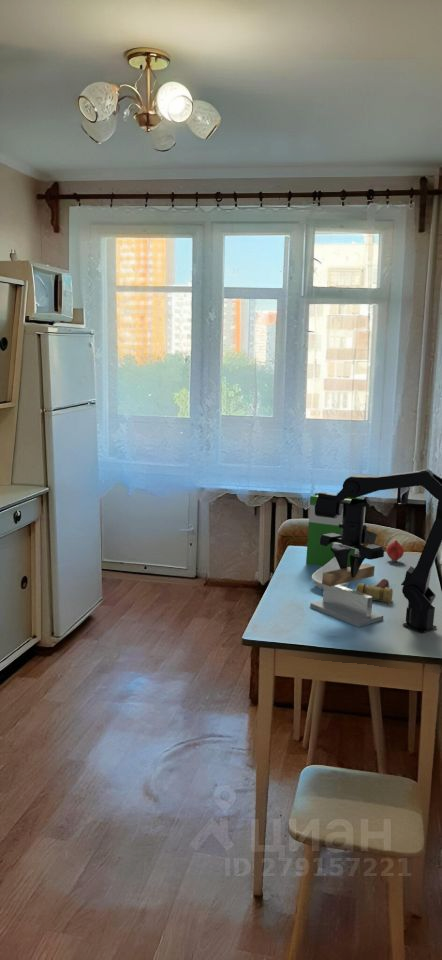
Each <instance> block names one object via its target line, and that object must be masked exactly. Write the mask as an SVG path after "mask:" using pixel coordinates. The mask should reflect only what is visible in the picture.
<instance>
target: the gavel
mask: <svg viewBox="0 0 442 960" xmlns="http://www.w3.org/2000/svg"><path fill="white" fill-rule="evenodd" d="M389 585H390V583H389V580H388V579H386V578H383V579H381V580H380V581H379V582H378V583H377V584H376V585H375V586H373V585H367V584H366V583H361V582H359V583H357V585H356V590H355V591H358V592H361V593H363V594H366V595H369V596H372V597H373V600H372V601H376V600H377V602H384V604H391V603H392V600H393V593H394V590H393V588H392V587H388V586H389Z"/></svg>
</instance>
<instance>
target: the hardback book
mask: <svg viewBox="0 0 442 960" xmlns="http://www.w3.org/2000/svg"><path fill="white" fill-rule="evenodd" d="M318 493H319V492H315V493H314V495H310V500H309V511H308V512H309V514H308V515H309V516H308V527H307V529H308V530H307V541H306V542H307V543H306V556H305V557H306V559H305V564H306V565H307V564H308V565H309V566H315V567H320V568H321V567H323V566H324V565H325V564H327V563H328V562H329V561H330V560H331V559H332V558H334V557H335V556H334V554H333V552H332V551H331V550H330V549H331V548H332V545H333V544H332V543H330V545H329V546H323V545H320V537H321V536H322V535H323V534H329V533H336V534H339V535H341V532H342V528H339V524H341V523H342V518H343V510H342V514H341V515H338V517H337V518H336V519H335V518H328V517H320V516H316V515H315V505H316V501H317V498H318ZM364 498H365V497H361V496H360V497H357V498H356V499H364ZM344 500H346V501H351V500H352V498H350V497H348V498H346V499H344ZM366 508H367V507H365V509H364V522H363V524H364V525H365V522H366V521H365V519H366V518H365V517H366ZM362 545H364V544H362ZM354 547H356V546H354ZM352 554H355V550H352V549H351V551H350V553H349V554H348V564H347V567H350V555H352Z"/></svg>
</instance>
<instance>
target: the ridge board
mask: <svg viewBox="0 0 442 960" xmlns="http://www.w3.org/2000/svg"><path fill="white" fill-rule="evenodd" d="M309 607H310V608H311V609H314V610H315V611H318V612H321V613H323V614H326V615H328V616H331V617H334V618H336V619H338V620H341V621H343V622H346V623H348V624H350V625H353V626H355V627H357V628H360V627H361V628H362V627H364V626H368V625H370V624H373V623H377V622H380V621H383V620H384V615H383V614H380V613H377V612H376V611H372V612H371V618H367V619H366V618H363V617H360V616H358V615H355V614H353V613H350V612H348V611H345V610H343V609H340V608H338V607H335V606H333V605H330V604H327V603H325V602H323V599H321V600H317V601H315V602H310V605H309Z"/></svg>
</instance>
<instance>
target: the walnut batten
mask: <svg viewBox="0 0 442 960" xmlns="http://www.w3.org/2000/svg"><path fill="white" fill-rule="evenodd" d="M375 567H376V566H375V565H373V564H370V563H362V564H361V566H360V568H359V570H358V572H357V574H356V577H354V578H352V576H351V567H348V568H343V569H339V570H334V571H330V572H325V573H323V577H322V584H324V585H327V586H330V587H331V586H335V585H339V584H343V583H348V582H349V583H352V582H354V581H359V580H360V581H361V580H363V579H368V578H373V577H374V576H375Z"/></svg>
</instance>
